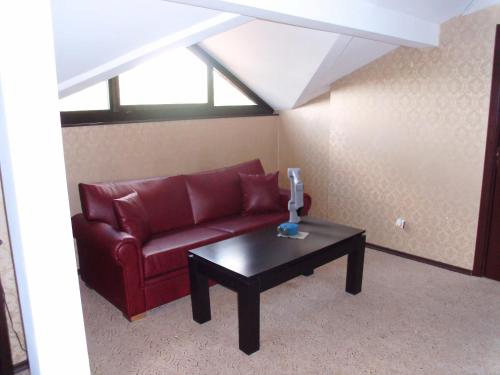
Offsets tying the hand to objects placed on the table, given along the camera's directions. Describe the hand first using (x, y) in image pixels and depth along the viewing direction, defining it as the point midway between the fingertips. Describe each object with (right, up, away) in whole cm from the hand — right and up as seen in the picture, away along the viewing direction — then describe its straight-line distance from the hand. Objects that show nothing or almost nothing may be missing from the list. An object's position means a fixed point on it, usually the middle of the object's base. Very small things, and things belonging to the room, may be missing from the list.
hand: (299, 216), depth 312 cm
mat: (-6, -13, -10) cm, 17 cm away
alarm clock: (-3, -8, -4) cm, 9 cm away
